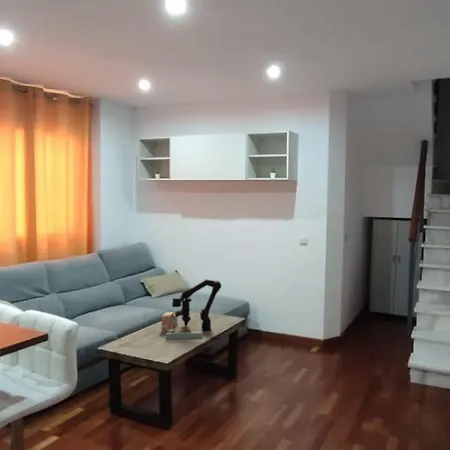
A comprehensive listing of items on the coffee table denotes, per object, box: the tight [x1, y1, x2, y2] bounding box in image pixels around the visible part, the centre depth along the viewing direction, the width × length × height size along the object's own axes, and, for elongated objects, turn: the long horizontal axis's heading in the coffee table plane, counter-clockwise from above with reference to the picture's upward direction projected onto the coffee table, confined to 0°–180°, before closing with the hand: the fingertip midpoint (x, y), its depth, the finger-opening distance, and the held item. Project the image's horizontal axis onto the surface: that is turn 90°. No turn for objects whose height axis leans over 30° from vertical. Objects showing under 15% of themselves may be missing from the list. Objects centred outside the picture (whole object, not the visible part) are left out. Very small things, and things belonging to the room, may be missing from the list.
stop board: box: [165, 331, 203, 340], centre depth 358 cm, size 26×3×4 cm, turn 97°
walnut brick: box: [180, 326, 192, 332], centre depth 365 cm, size 7×10×5 cm
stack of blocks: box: [161, 311, 178, 333], centre depth 383 cm, size 21×6×12 cm, turn 169°
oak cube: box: [167, 328, 176, 333], centre depth 363 cm, size 4×4×4 cm
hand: (185, 326), depth 377 cm, fingers closed
